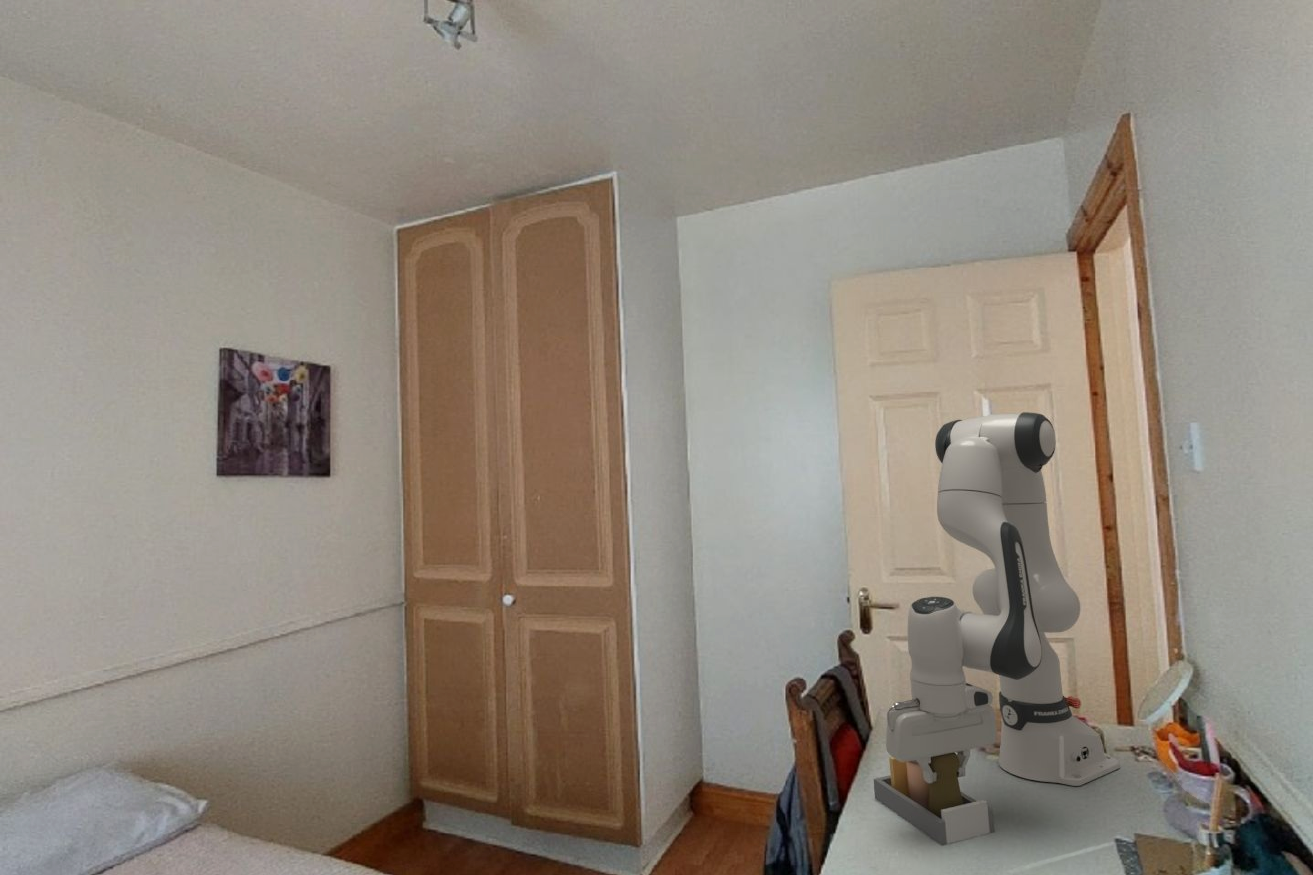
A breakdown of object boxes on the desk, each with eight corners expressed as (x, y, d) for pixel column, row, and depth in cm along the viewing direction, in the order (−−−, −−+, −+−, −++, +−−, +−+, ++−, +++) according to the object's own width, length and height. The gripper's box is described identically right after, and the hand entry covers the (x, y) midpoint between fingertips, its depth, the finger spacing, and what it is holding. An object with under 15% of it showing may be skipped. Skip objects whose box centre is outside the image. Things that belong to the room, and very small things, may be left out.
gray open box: (922, 790, 131) (920, 760, 131) (994, 835, 114) (991, 800, 114) (875, 801, 128) (872, 770, 128) (942, 849, 110) (939, 813, 111)
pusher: (927, 794, 127) (923, 750, 128) (930, 796, 126) (927, 752, 127) (892, 802, 125) (889, 757, 125) (896, 804, 124) (892, 759, 125)
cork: (970, 827, 113) (965, 758, 113) (932, 825, 114) (927, 757, 114) (961, 809, 119) (956, 744, 119) (924, 808, 120) (920, 743, 120)
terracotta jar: (926, 800, 126) (922, 746, 126) (946, 813, 121) (942, 756, 121) (902, 805, 124) (898, 751, 125) (922, 818, 119) (917, 762, 120)
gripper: (898, 709, 112) (904, 797, 111) (1000, 692, 118) (1006, 775, 117) (875, 698, 118) (880, 781, 117) (973, 682, 124) (979, 761, 123)
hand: (944, 778), depth 117 cm, fingers closed on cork, 4 cm apart
